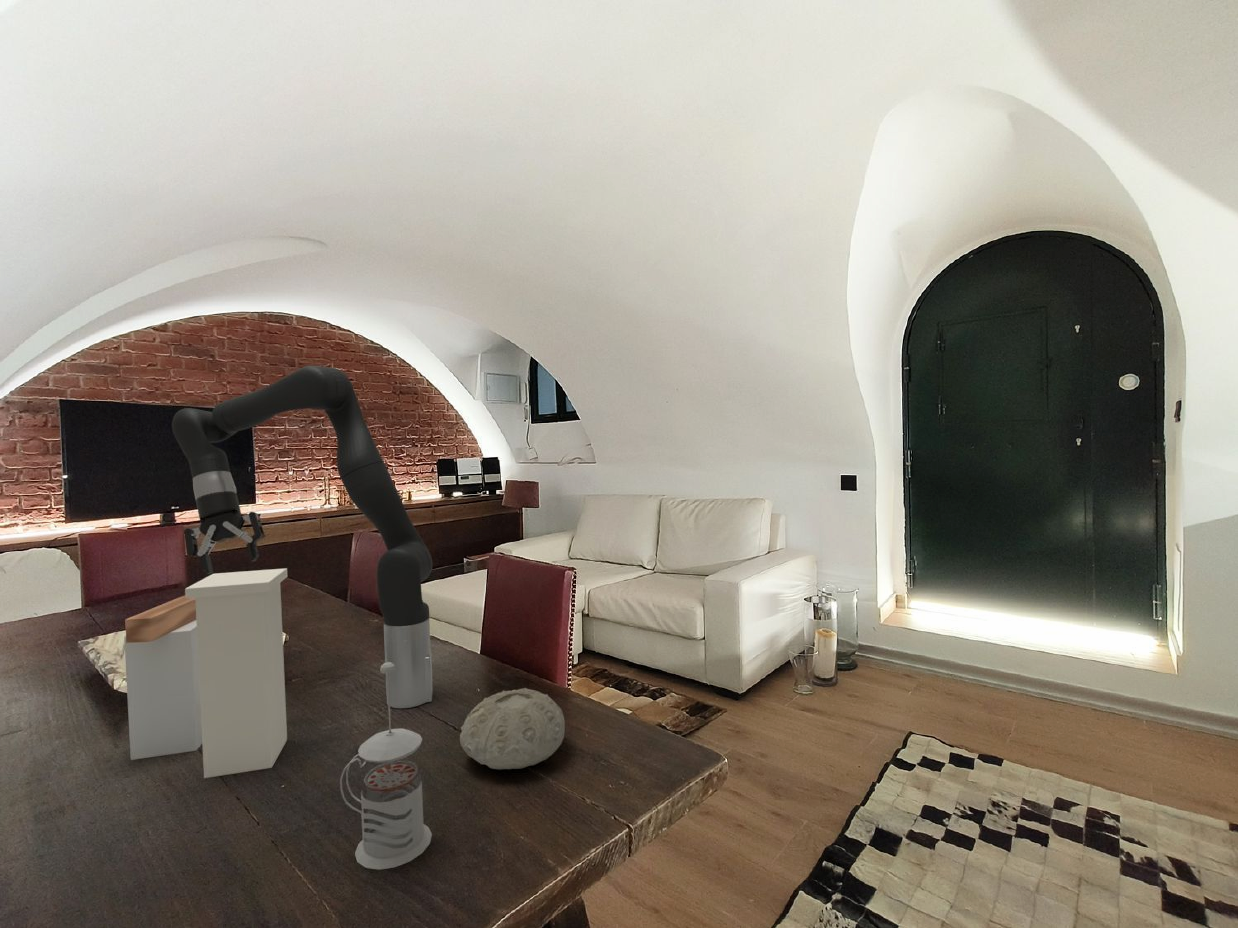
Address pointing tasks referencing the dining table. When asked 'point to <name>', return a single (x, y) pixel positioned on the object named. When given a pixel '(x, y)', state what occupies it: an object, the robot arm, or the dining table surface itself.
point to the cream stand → (240, 670)
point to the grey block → (164, 694)
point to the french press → (398, 828)
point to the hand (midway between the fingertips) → (231, 566)
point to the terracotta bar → (160, 620)
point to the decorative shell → (513, 729)
